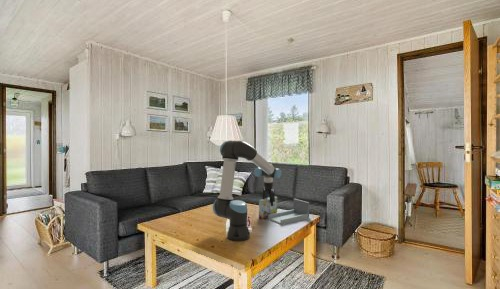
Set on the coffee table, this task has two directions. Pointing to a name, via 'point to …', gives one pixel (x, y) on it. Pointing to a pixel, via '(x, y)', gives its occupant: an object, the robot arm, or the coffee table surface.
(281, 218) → the shelf
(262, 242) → the coffee table surface
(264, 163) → the robot arm
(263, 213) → the snack box
